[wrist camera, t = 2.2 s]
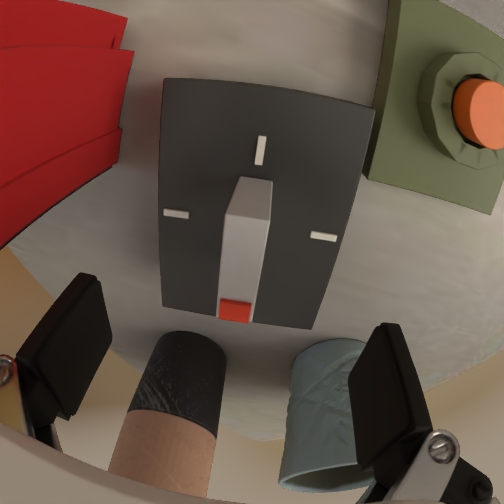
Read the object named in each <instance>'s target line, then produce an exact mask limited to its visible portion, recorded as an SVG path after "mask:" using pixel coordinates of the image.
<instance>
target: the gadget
mask: <svg viewBox="0 0 504 504" xmlns="http://www.w3.org/2000/svg"><path fill="white" fill-rule="evenodd" d="M375 112H376V109H374V108H371V107H368V106H364V105H361V104H357V103H353V102H350V101H346V100H341V99H337V98H333V97H329V96H324V95H319V94H314V93H310V92H304V91H299V90H293V89H288V88H282V87H275V86H268V85H261V84H253V83H245V82H235V81H224V80H211V79H194V78H165V79H164V81H163V93H162V106H161V121H160V140H159V171H158V224H159V256H160V276H161V291H162V305H163V307H168V308H173V309H179V310H184V311H189V312H195V313H200V314H206V315H211V316H216V309H217V296H218V284H219V272H220V260H221V249H222V238H223V228H224V218H225V213H226V211H227V208H228V206H229V203H230V201H231V198H232V195H233V193H234V190H235V188H236V185H237V183H238V180H239V178H240V177H241V176H242V177H249V178H256V179H262V180H269V181H272V182H273V185H272V201H271V216H270V226H269V231H268V237H267V242H266V248H265V253H264V259H263V264H262V270H261V275H260V281H259V286H258V292H257V297H256V302H255V308H254V313H253V318H252V322H255V323H262V324H269V325H276V326H284V327H291V328H299V329H308V330H311V329H312V327H313V324H314V321H315V319H316V316H317V313H318V310H319V308H320V305H321V302H322V299H323V297H324V294H325V291H326V288H327V285H328V282H329V279H330V276H331V273H332V270H333V267H334V264H335V261H336V258H337V255H338V252H339V249H340V245H341V242H342V239H343V236H344V233H345V229H346V226H347V223H348V219H349V216H350V212H351V209H352V205H353V202H354V198H355V195H356V191H357V187H358V183H359V180H360V176H361V172H362V168H363V164H364V160H365V156H366V152H367V148H368V144H369V139H370V135H371V131H372V126H373V122H374V117H375Z"/></svg>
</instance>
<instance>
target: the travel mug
mask: <svg viewBox="0 0 504 504" xmlns="http://www.w3.org/2000/svg"><path fill="white" fill-rule="evenodd" d="M225 372H226V356H225V354H224V352H223V350H222V349H221V348H220V347H219V346H218V345H217V344H216V343H214V342H213V341H211V340H210V339H208V338H206V337H204V336H201V335H198V334H195V333H191V332H183V331H177V332H171V333H168V334H165V335H164V336H162V337H161V338H160V339H159V340H158V342H157V344H156V346H155V348H154V350H153V352H152V355H151V357H150V359H149V362H148V364H147V366H146V368H145V371H144V373H143V375H142V378H141V380H140V382H139V385H138V388H137V390H136V392H135V394H134V397H133V399H132V401H131V404H130V406H129V409H128V411H127V414H126V417H125V419H124V422H123V425H122V428H121V431H120V434H119V437H118V440H117V443H116V446H115V449H114V452H113V455H112V458H111V462H110V465H109V468H108V471H107V472H110V473H113V474H116V475H119V476H122V477H125V478H128V479H131V480H134V481H137V482H140V483H144V484H147V485H151V486H154V487H158V488H162V489H166V490H170V491H174V492H178V493H183V494H187V495H192V496H197V497H203V498H206V495H207V490H208V484H209V479H210V473H211V468H212V462H213V457H214V451H215V446H216V438H217V432H218V424H219V417H220V409H221V402H222V394H223V387H224V380H225Z"/></svg>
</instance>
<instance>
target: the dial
mask: <svg viewBox="0 0 504 504" xmlns="http://www.w3.org/2000/svg"><path fill="white" fill-rule="evenodd" d="M272 185H273V182H272V181H269V180H262V179H256V178H249V177H242V176H241V177H240V178H239V180H238V183H237V185H236V188H235V190H234V193H233V195H232V198H231V201H230V203H229V206H228V208H227V211H226V213H225V218H224V228H223V238H222V249H221V260H220V272H219V284H218V296H217V309H216V317H218V318H219V319H224V320H230V321H236V322H242V323H248V322H252V318H253V313H254V308H255V302H256V297H257V292H258V286H259V281H260V275H261V270H262V264H263V259H264V253H265V248H266V242H267V237H268V231H269V226H270V216H271V201H272Z"/></svg>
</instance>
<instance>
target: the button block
mask: <svg viewBox="0 0 504 504" xmlns="http://www.w3.org/2000/svg"><path fill="white" fill-rule="evenodd" d="M467 79H482V80H490V81H495V82H498V83H499V84H501V85H502V86H504V39H502V38H501V37H499V36H498V35H496V34H495V33H493V32H492V31H490V30H489V29H487V28H486V27H484V26H483V25H481V24H479V23H478V22H476V21H474V20H473V19H471V18H469V17H468V16H466V15H464V14H462V13H461V12H459V11H457V10H455V9H453V8H451V7H449V6H448V5H446V4H444V3H442V2H440V1H438V0H389V6H388V15H387V23H386V30H385V37H384V44H383V51H382V57H381V63H380V69H379V75H378V80H377V86H376V91H375V96H374V101H373V106H372V108H374V109H376V112H375V117H374V122H373V126H372V131H371V135H370V139H369V144H368V148H367V152H366V156H365V160H364V164H363V168H362V173H363V175H364V176H365V177H366V178H367V179H368V180H372V181H376V182H381V183H385V184H388V185H392V186H396V187H400V188H404V189H408V190H411V191H415V192H418V193H422V194H425V195H429V196H432V197H436V198H439V199H442V200H445V201H449V202H452V203H455V204H458V205H461V206H464V207H467V208H470V209H473V210H476V211H479V212H482V213H485V214H488V215H491V213H492V210H493V208H494V205H495V202H496V200H497V197H498V194H499V191H500V188H501V185H502V182H503V179H504V147H503V148H501V149H497V150H493V149H489V148H486V147H484V146H482V145H480V144H478V143H476V142H473V141H471V140H469V139H468V138H466V137H465V136H464V135H463V134H462V133H461V131H460V130H459V128H458V127H457V125H456V122H455V120H454V116H453V108H452V105H453V97H454V94H455V91H456V89H457V88H458V86H459V85H460V84H461V83H462V82H463V81H465V80H467Z"/></svg>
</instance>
